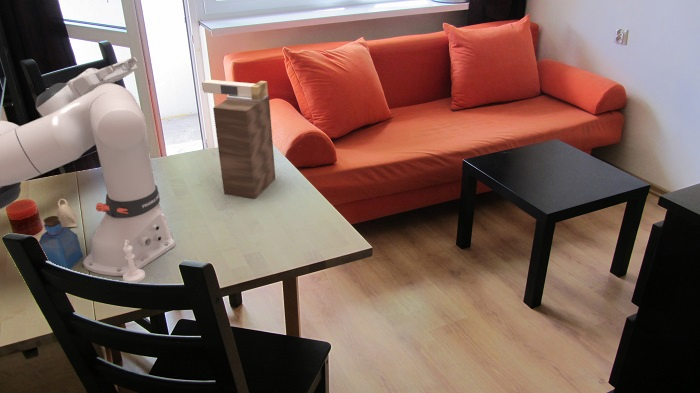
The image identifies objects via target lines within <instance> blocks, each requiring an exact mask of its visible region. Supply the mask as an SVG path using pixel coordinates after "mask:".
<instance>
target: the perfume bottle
mask: <svg viewBox="0 0 700 393" xmlns="http://www.w3.org/2000/svg"><path fill="white" fill-rule="evenodd" d="M43 222H44V225H43V227H44V229H45V232H44V233H42V234H41V237H39V238H40V239H39V240H38V243H40V245H41V247H42V249H43V251H44V252H45V254H46V256H47V258H48V260H49V261H51V262H52V263H54V264H56V265H59V266H62V267H65V268H68V269H70V270H71V269H72V268H73V267H75V265H76V264H77V263H78V262H79V261H80V260H81V259H82V258H83V257H84V255H83V250H82V248H81V247H82V246H81V244H80V240H79V237H78V234H77V233H76V232H74V231H72V230H71V229H70V227H61V226H62V225H61V220H60V219H59V216H58V215H50V216H47V217H45V218H43Z"/></svg>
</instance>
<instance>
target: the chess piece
mask: <svg viewBox="0 0 700 393" xmlns="http://www.w3.org/2000/svg"><path fill="white" fill-rule="evenodd" d="M128 244H129V241H128V240H125V244H124V246H125V247H124V248H123V250H124V252H125V253H126V254H127V255H126V256H125V259H126V260H128V263H129V271H128V272H127V273H125V274H124V275H123V276H122V280H123V282H124V281H130V282H135V283H138V282H141V281H142V280H144V278H145V277H146V272H145V270H144V269H142V268H140V269H136V266H135V264H134V261H133V258H134V257H135V255H134V254H132V249H133V247H132V246H130V245H128Z"/></svg>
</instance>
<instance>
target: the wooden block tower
mask: <svg viewBox="0 0 700 393" xmlns="http://www.w3.org/2000/svg"><path fill="white" fill-rule="evenodd" d="M254 84H255V85H253V86H251V94H252V97H245V96H235V95H226V100H224V101H222V102H221V103H218V104H217V105H215V106H214V107H212V108H213V110H212V111H213V117H214V126H215V133H216V140H217V147H218V148H217V149H218V157H219V163H220V165H219V166H220V172H221V173H220V174H221V179H222V180H221V182H222V188H223V195H227V196H233V197H241V198H246V199H252V200H256V199H257V198H258V196H259V195H261V194H262V193H263V191H265V190H266V189H267V188H268V187H269V186H270V185H271V184H272V183H273V181H275V180H276V169H275V168H276V166H275V157H274V156H275V152H274V145H273V143H274V142H273V130H272V117H271V105H270V104H271V103H270V96H269V90H268V81H265V80H260V81H258V82H256V83H254Z"/></svg>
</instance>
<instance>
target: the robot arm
mask: <svg viewBox="0 0 700 393" xmlns="http://www.w3.org/2000/svg"><path fill="white" fill-rule="evenodd" d="M137 64H138V60H137V58H136V57H135V56H132V57H130V58H127V59H125V60H123V61H119V62H117V63H114V64H111V65H108V66H105V67H102V68H100V69H98V68H95V67H90V68H87V69H85V70H84V71H83V72H82V73H80V74H79V75H77V76H75V77H73V78H72V79H69V81H67V82H58V83H55V84H52V85H51V86H50V87H48V88H47V89H46V90H45V91H43V92H42V93H40V94H39V95H38V96H37V97H36V102H35V109H36V110H37V112H38V113H39V114H40V115H41V117H39V118H37V119H35V120H32V121H30V122H28V123H25V124H22V125H18V124H16V123H14V122H10V121H7V120H0V210H3V209H5V208H8V207H9V206H10V205H12V204H13V203H14V202H15V201H16V200H17V199H18V198H19V197H20V194H21V185H22V182H24V181H27V180H30V179H33V178H36V177H39V176H41V175H43V174H45V173H48V172H50V171H52V170H55V169H57V168H60V167H62V166H65V165H66V164H70V163H71V162H73V161H76V160H78V159H79V158H81V157H82V155H83V154H84V153H86V152H87V151H88V150H90V149H91V148H92V147H94V146H96V150H97V155H98V159H99V164H100V168H101V172H102V178H103V182H104V186H105V190H106V195H105V196H106V197H105V203H102V202H98V203H96V205H95V210H96V211H97V212H102V213H104V215H103V217H102V219H101V221H100V222H99V225H98V226H97V228H96V229H95V232H94V233H93V235H92V237H91V239H90V253H89V254H88V255H86V257H85V258H84V259H83V260H82V265H83V267H84V268H85V269H86V270H88V271H90V272H93V273H95V274H100V275H104V276H112V277H113V276H114V277H123V275H124V274H125V273H127V272H128V271H129V263H128V260H126V259H125V256H126V255H127V254H126V253H125V252H124V250H123V248H124V247H125V246H124V244H125V240H128V241H129V244H128V245H130V246H132V247H133V249H132V254H134V255H135V257H134V258H133V261H134V264H135V266H136V269H142V268H143V267H145V266H147V265H148V264H149V263H151V262H152V261H154V260H155V259H157V258H159V257H160V256H162V255H164V254H166V253H167V251H169V250H171V249H173V248H174V247H175V246H176V242H175V240H174V238H173V236H172V232H171V230H170V229H169V226H168V223H167V220H166V216H165V214H164V213H165V212H164V211H163V209H162V207H161V205H160V201H161V198H160V191H159V188H158V186H157V184H156V183H155V176H154V172H153V167H152V160H151V157H150V156H151V154H150V144H149V136H148V129H147V122H146V117H145V114H144V112H143V110H142V109H141V106H140V105H139V103H138V102H137V100H136V99H135V98H136V97H135V96H134V95H133V93H132V92H131V91H130V90H129V89H127V88H125V87H124V86H122V85H119V84H116V83H115V82H118V81H120V80H122V79H124V78H126V77H127V76H129V75H130V74H132V73H133V72H135V71H137V70H138V66H137Z"/></svg>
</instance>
